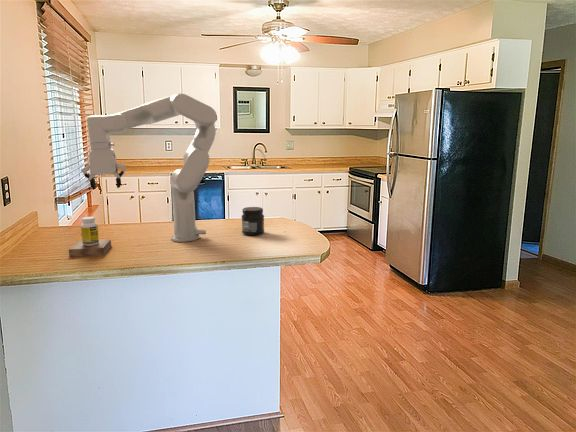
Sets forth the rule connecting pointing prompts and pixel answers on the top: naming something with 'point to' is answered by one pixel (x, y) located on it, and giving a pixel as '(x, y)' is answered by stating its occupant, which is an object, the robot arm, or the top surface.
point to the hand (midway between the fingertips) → (106, 188)
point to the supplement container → (252, 221)
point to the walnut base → (90, 249)
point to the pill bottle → (89, 231)
